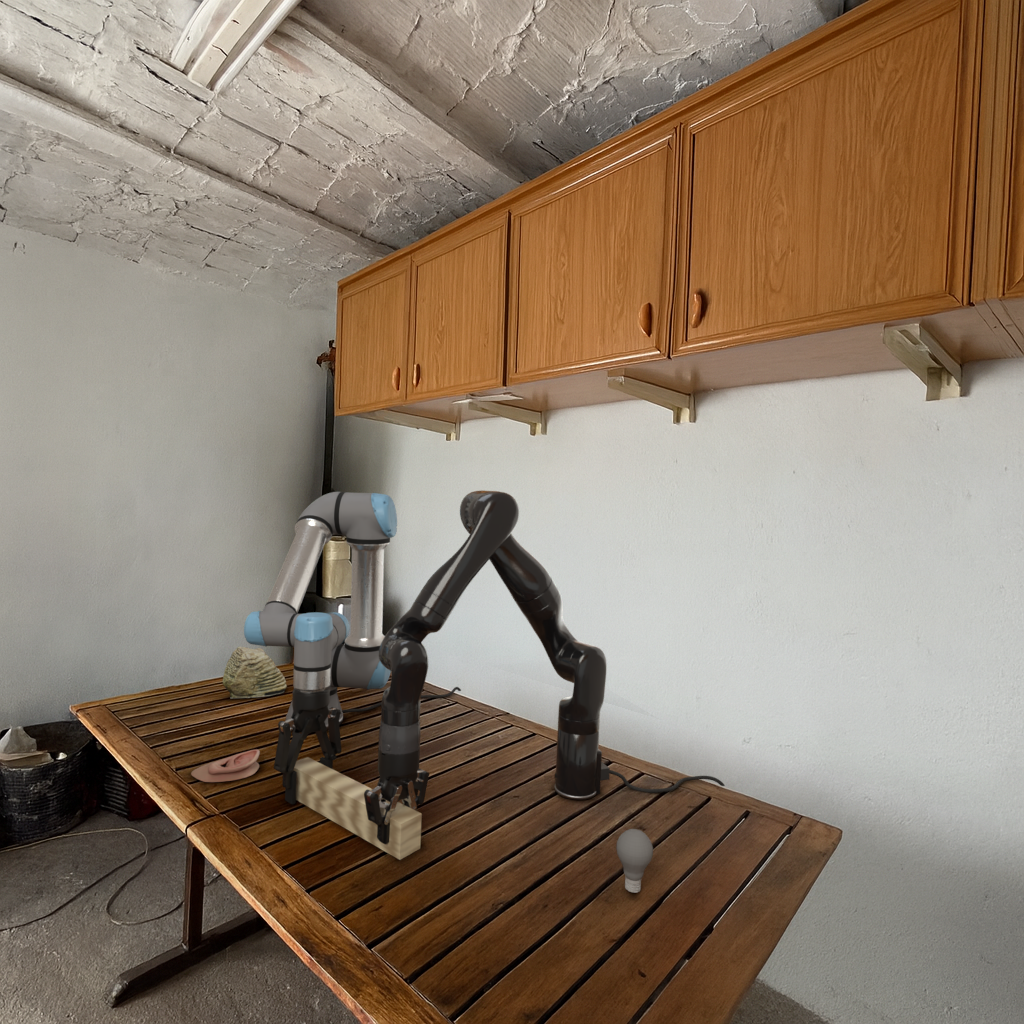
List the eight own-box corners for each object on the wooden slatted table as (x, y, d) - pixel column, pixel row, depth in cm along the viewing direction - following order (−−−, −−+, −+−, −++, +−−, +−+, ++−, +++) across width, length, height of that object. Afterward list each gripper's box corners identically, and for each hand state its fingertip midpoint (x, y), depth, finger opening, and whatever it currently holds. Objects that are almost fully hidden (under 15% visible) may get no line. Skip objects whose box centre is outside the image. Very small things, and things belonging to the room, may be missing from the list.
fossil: (218, 695, 195) (220, 647, 195) (278, 685, 208) (279, 640, 207) (228, 703, 189) (230, 653, 188) (289, 692, 201) (290, 645, 201)
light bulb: (610, 879, 108) (613, 822, 108) (644, 879, 109) (647, 822, 109) (619, 902, 102) (622, 840, 102) (655, 901, 103) (658, 840, 103)
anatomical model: (182, 760, 139) (216, 741, 150) (181, 778, 139) (216, 758, 150) (236, 768, 136) (267, 748, 147) (235, 786, 136) (266, 765, 147)
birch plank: (286, 794, 134) (287, 763, 134) (306, 786, 138) (307, 756, 138) (399, 860, 112) (401, 823, 112) (420, 848, 116) (421, 813, 116)
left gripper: (340, 674, 144) (337, 774, 144) (256, 693, 128) (252, 806, 128) (361, 681, 139) (357, 785, 139) (277, 702, 123) (273, 818, 123)
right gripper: (414, 729, 124) (411, 815, 124) (354, 749, 113) (350, 844, 113) (441, 739, 119) (438, 828, 119) (382, 761, 108) (378, 860, 108)
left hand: (307, 795), depth 134 cm, fingers open, 7 cm apart
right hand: (395, 835), depth 116 cm, fingers closed on birch plank, 5 cm apart
